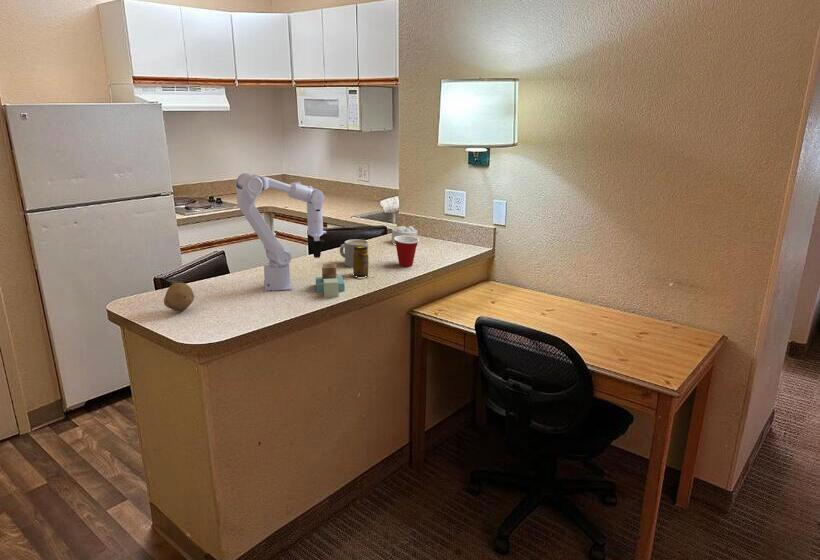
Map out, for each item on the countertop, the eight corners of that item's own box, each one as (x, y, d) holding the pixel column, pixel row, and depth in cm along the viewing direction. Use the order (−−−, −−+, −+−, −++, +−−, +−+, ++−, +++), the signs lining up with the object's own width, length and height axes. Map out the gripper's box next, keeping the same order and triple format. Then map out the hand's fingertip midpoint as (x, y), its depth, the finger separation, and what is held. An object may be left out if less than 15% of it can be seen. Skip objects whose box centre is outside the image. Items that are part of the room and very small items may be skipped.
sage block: (324, 297, 206) (324, 283, 205) (323, 293, 211) (323, 278, 209) (338, 296, 207) (338, 282, 206) (337, 292, 212) (337, 278, 210)
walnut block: (322, 282, 214) (322, 267, 212) (323, 277, 218) (322, 264, 217) (335, 282, 214) (335, 267, 212) (336, 278, 219) (336, 264, 217)
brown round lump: (201, 311, 191) (198, 283, 188) (175, 318, 185) (172, 289, 182) (187, 305, 197) (184, 277, 194) (162, 311, 190) (158, 283, 187)
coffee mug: (372, 264, 248) (372, 242, 246) (356, 269, 241) (355, 245, 238) (351, 258, 257) (351, 236, 254) (334, 263, 250) (334, 240, 247)
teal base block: (317, 293, 212) (317, 284, 210) (315, 285, 221) (315, 277, 220) (344, 292, 214) (344, 283, 212) (342, 284, 223) (341, 275, 222)
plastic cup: (408, 270, 241) (409, 242, 237) (388, 265, 247) (388, 238, 243) (423, 264, 249) (424, 237, 246) (404, 260, 255) (404, 234, 252)
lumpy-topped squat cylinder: (403, 240, 292) (404, 223, 290) (422, 245, 283) (422, 227, 281) (388, 243, 285) (389, 226, 283) (407, 248, 276) (407, 230, 274)
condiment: (365, 271, 238) (365, 243, 234) (374, 277, 231) (374, 248, 227) (349, 274, 234) (348, 245, 231) (357, 279, 227) (357, 250, 224)
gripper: (327, 223, 212) (328, 259, 216) (324, 216, 226) (325, 249, 230) (307, 224, 211) (309, 260, 215) (306, 216, 224) (307, 250, 228)
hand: (316, 254), depth 222 cm, fingers open, 7 cm apart
